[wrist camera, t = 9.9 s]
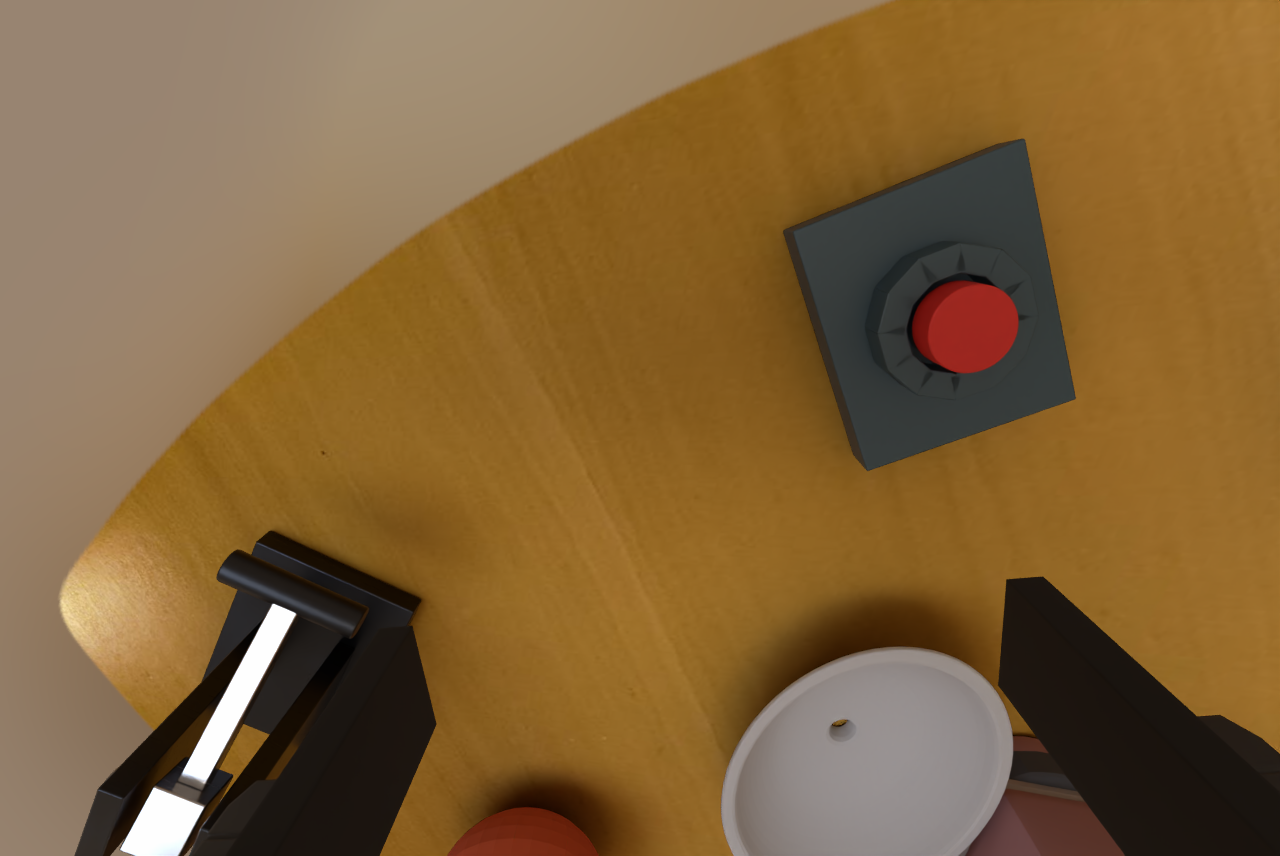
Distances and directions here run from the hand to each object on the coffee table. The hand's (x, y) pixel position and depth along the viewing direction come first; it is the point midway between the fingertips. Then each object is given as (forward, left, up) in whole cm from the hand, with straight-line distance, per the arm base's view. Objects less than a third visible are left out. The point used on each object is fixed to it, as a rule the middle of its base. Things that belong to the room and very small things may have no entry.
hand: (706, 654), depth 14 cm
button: (-10, +8, -16) cm, 20 cm away
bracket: (+23, -12, -19) cm, 32 cm away
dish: (+12, +18, -19) cm, 29 cm away
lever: (+19, -12, -11) cm, 24 cm away
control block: (-10, +8, -19) cm, 23 cm away
